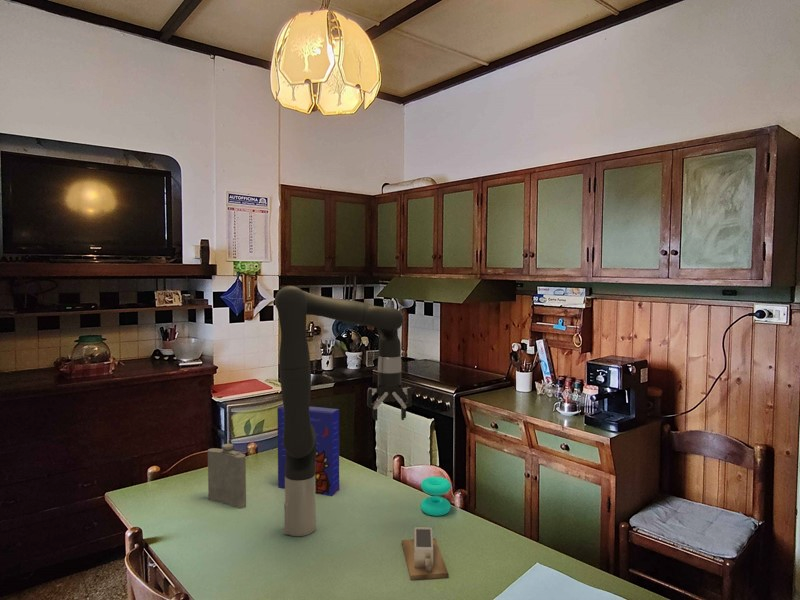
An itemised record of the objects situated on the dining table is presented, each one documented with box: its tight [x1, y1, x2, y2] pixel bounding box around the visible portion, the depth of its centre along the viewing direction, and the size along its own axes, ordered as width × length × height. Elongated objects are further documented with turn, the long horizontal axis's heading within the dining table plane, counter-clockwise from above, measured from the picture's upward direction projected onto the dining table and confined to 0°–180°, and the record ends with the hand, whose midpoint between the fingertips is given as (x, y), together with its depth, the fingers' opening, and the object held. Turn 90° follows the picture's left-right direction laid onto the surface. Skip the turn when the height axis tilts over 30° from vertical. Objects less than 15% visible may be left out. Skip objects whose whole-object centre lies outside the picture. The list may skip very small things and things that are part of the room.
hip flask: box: [207, 443, 247, 509], centre depth 181 cm, size 16×4×20 cm, turn 64°
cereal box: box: [276, 404, 340, 497], centre depth 192 cm, size 22×6×30 cm, turn 72°
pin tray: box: [401, 537, 449, 581], centre depth 146 cm, size 10×18×4 cm, turn 7°
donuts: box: [420, 476, 452, 517], centre depth 176 cm, size 10×10×10 cm
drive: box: [413, 526, 434, 568], centre depth 146 cm, size 5×12×5 cm, turn 178°
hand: (389, 419), depth 169 cm, fingers open, 8 cm apart
